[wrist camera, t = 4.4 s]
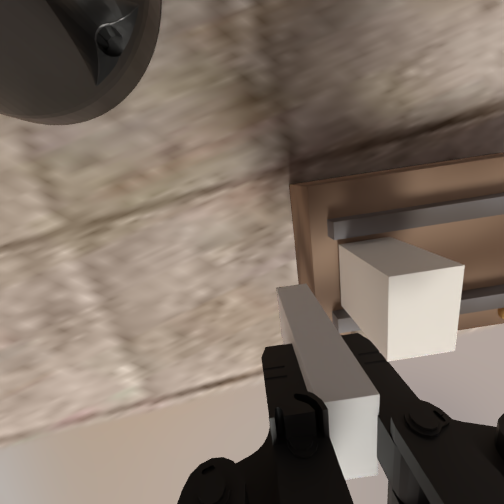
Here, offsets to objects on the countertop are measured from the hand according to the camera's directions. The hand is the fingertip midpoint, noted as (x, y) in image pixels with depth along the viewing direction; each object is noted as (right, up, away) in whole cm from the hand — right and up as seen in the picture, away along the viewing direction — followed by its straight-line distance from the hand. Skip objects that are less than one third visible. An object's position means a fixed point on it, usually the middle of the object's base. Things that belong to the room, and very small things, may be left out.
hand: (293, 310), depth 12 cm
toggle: (+5, +2, +3) cm, 6 cm away
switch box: (+9, +4, +8) cm, 13 cm away
